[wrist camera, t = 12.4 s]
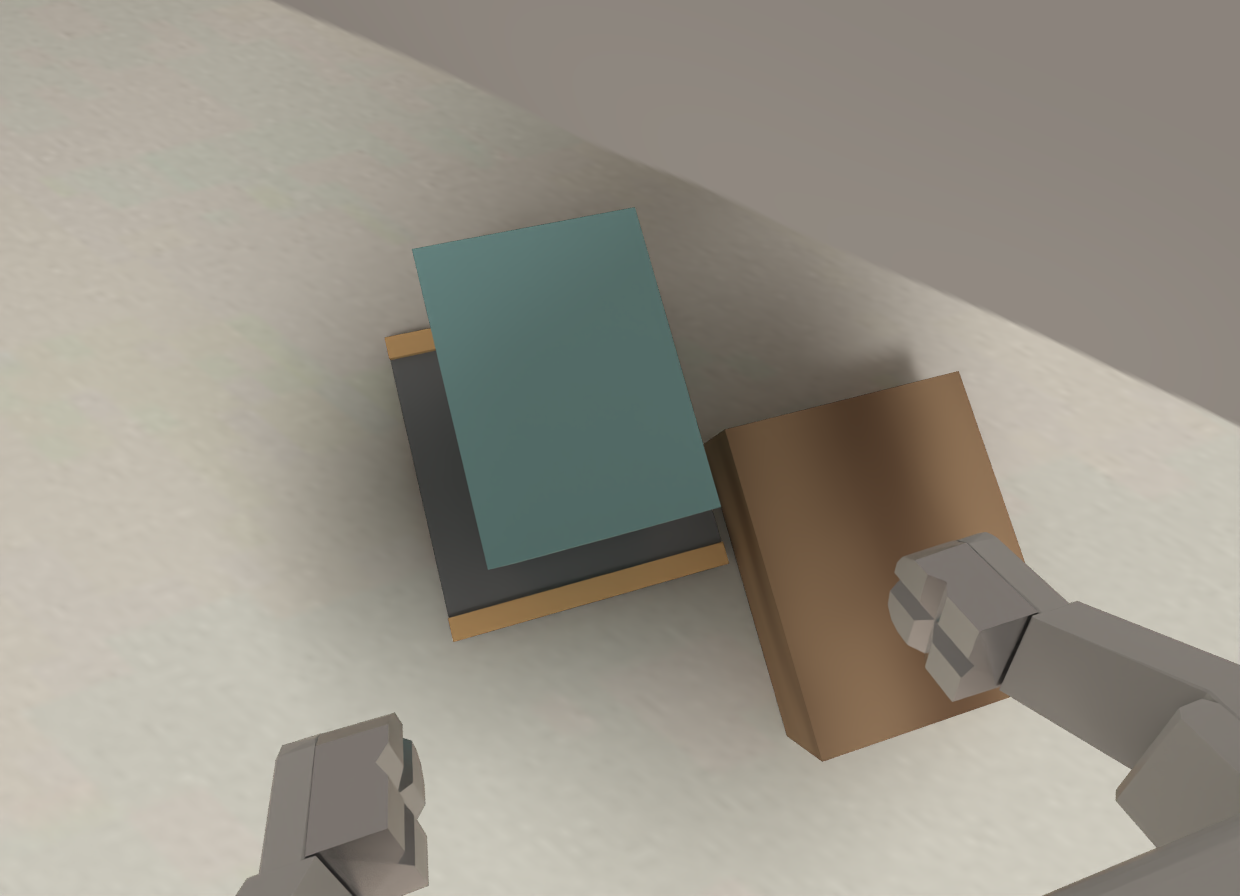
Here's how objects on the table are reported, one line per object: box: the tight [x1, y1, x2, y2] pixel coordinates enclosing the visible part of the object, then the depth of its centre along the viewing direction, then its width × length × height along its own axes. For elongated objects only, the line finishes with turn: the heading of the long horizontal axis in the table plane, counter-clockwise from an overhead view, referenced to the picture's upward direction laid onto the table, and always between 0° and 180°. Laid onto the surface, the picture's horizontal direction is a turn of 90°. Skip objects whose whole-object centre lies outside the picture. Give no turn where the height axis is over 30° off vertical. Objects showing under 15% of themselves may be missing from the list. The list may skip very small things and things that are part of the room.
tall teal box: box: [412, 207, 721, 570], centre depth 19 cm, size 5×7×10 cm
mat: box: [385, 328, 729, 642], centre depth 24 cm, size 10×11×1 cm
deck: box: [703, 371, 1025, 762], centre depth 23 cm, size 9×11×3 cm
